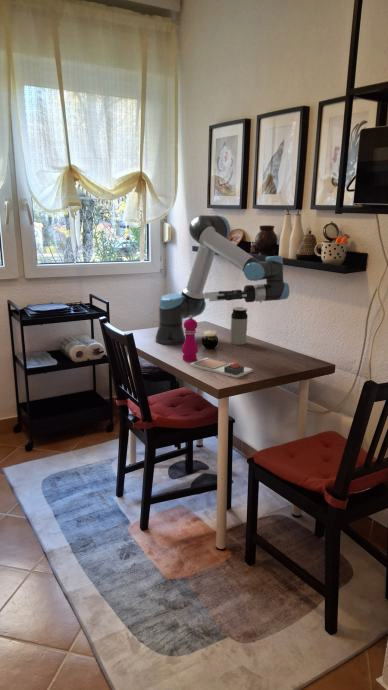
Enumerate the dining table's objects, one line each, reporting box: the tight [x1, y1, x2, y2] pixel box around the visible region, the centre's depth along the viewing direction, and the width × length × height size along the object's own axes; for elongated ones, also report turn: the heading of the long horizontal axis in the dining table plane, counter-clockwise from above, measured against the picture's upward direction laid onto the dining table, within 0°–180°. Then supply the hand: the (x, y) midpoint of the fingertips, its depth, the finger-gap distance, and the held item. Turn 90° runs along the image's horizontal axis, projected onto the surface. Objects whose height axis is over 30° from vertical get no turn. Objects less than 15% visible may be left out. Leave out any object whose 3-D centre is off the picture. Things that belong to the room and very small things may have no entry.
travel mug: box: [229, 306, 248, 346], centre depth 253 cm, size 8×8×18 cm
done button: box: [229, 361, 240, 369], centre depth 206 cm, size 4×4×2 cm
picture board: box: [189, 357, 254, 379], centre depth 214 cm, size 12×24×3 cm, turn 51°
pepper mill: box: [181, 316, 199, 362], centre depth 223 cm, size 7×7×20 cm
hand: (206, 296), depth 221 cm, fingers open, 13 cm apart
